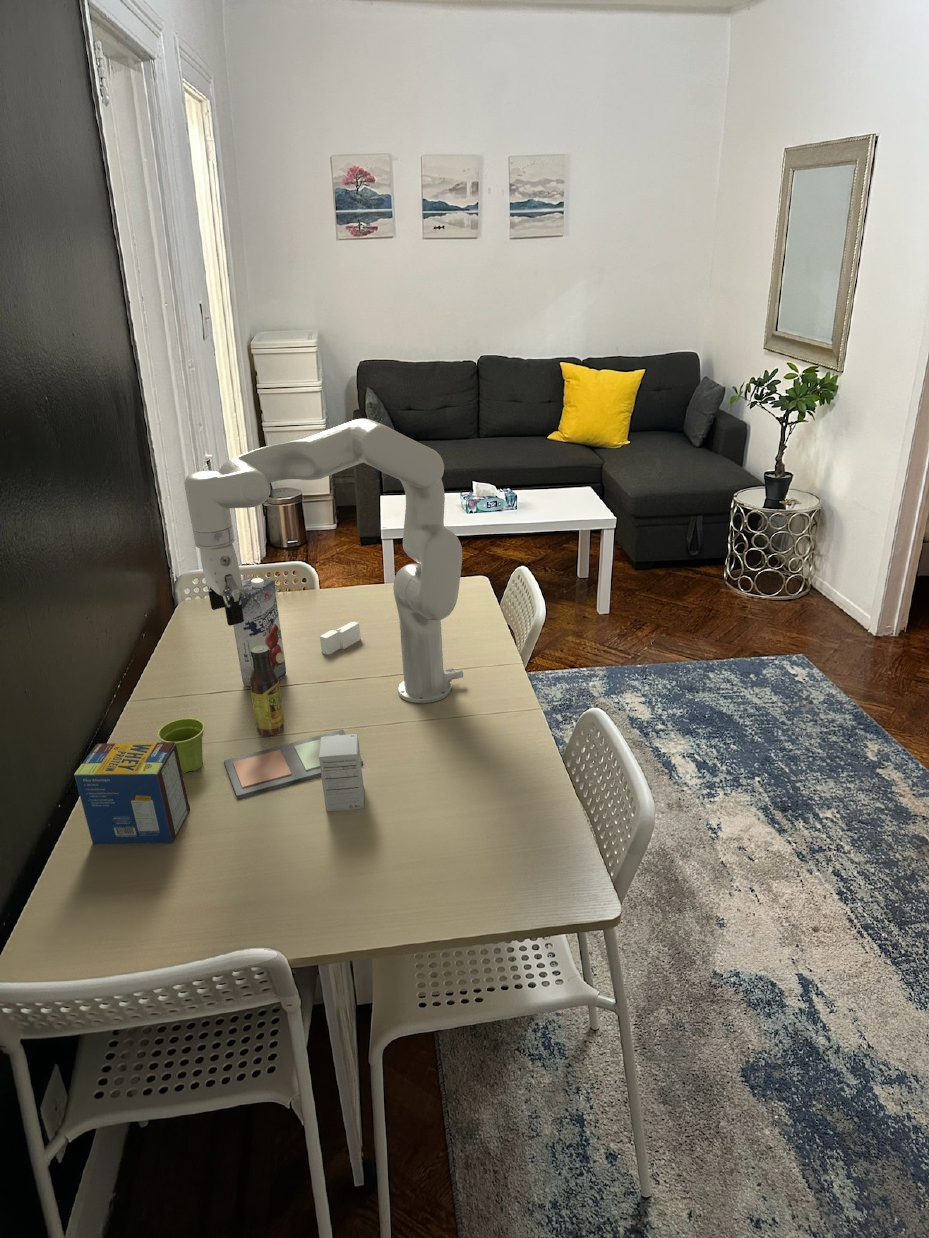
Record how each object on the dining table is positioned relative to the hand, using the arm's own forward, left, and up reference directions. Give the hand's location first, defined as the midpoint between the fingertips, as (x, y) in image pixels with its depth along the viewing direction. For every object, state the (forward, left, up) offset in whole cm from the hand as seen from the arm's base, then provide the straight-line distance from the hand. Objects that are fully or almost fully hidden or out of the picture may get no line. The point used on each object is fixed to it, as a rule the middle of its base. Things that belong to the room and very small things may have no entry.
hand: (227, 615), depth 179 cm
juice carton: (-10, -28, -31) cm, 43 cm away
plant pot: (+13, +2, -31) cm, 34 cm away
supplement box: (-13, +29, -31) cm, 44 cm away
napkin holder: (-32, -38, -32) cm, 59 cm away
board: (-7, +12, -31) cm, 34 cm away
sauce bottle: (-6, -4, -31) cm, 32 cm away
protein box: (+24, +19, -31) cm, 44 cm away
